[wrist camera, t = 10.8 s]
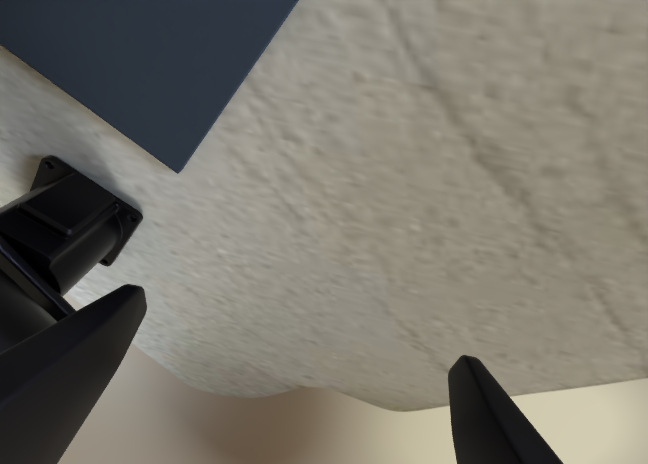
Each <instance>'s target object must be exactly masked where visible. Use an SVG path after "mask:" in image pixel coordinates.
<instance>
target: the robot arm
mask: <svg viewBox="0 0 648 464" xmlns="http://www.w3.org/2000/svg"><path fill="white" fill-rule="evenodd" d="M51 163H52V164H53V165H52V164H51ZM133 216H134V217H135V218H134V217H133ZM142 219H143V216H142V214H141V213H140V212H139V211H138V210H136V209H135V208H133V207H132V206H130V205H129V204H127V203H125V202H124V201H122V200H121V199H119V198H118V197H116V196H115V195H113V194H112V193H110V192H109V191H107V190H106V189H104V188H103V187H101V186H100V185H98V184H96V183H95V182H93V181H92V180H90V179H89V178H87V177H86V176H84V175H83V174H81V173H80V172H78V171H77V170H75V169H74V168H72V167H71V166H69V165H68V164H66V163H64V162H63V161H61V160H60V159H58V158H57V157H55V156H51V155H50V156H47V157H45V158H43V159H42V160H41V162H40V165H39V168H38V171H37V173H36V176H35V179H34V182H33V184H32V187H31V190H30V192H29V193H27V194H25V195H23V196H21V197H20V198H18V199H16V200H14V201H12V202H10V203H9V204H7V205H5V206H3V207H1V208H0V464H57V463H58V461H59V460H60V458H61V457H62V455H63V454H64V452H65V451H66V449H67V447H68V446H69V444H70V443H71V441H72V440H73V438H74V437H75V435H76V433H77V432H78V430H79V429H80V427H81V426H82V424H83V422H84V421H85V419H86V418H87V416H88V415H89V413H90V412H91V410H92V408H93V407H94V405H95V404H96V402H97V400H98V399H99V397H100V396H101V394H102V393H103V391H104V390H105V388H106V387H107V385H108V383H109V382H110V380H111V378H112V377H113V376H114V374H115V372H116V371H117V369H118V367H119V365H120V364H121V361H122V360H123V358H124V356H125V354H126V352H127V350H128V348H129V346H130V344H131V342H132V340H133V338H134V336H135V334H136V332H137V330H138V328H139V326H140V324H141V322H142V320H143V318H144V316H145V314H146V310H147V304H146V298H145V292H144V289H143V288H142V287H141V286H136V285H132V284H126V285H123V286H121V287H120V288H118V289H116V290H114V291H112V292H111V293H109V294H107V295H105V296H103V297H101V298H100V299H98V300H96V301H94V302H92V303H91V304H89V305H87V306H85V307H83V308H82V309H80V310H78V311H76V310H75V309H74V308H73V307H72V306H71V305H70V304H69V303H68V302H67V301H66V300H65V299H64V298H63V296H64V295H65V294H66V293H67V292H68V291H69V290H70V289H71V288H72V287H73V286H74V285H75V284H76V283H77V282H78V281H79V280H80V279H81V278H83V277H84V276H85V275H86V274H87V273H88V272H89V271H90V270H91V269H92V268H93V267H94V266H95V265H96V264H97V263H100V264H102V265H104V266H110V265H111V264H112V263H113V262H114V261H115V260H116V258H117V257H118V255H119V254H120V252H121V251H122V249H123V248H124V246H125V245H126V243H127V242H128V240H129V239H130V237H131V236H132V234H133V233H134V231H135V230H136V229H137V227H138V226H139V224H140V223H141V221H142ZM448 384H449V398H450V412H451V426H452V435H453V442H454V448H455V453H456V460H457V464H563V462H562V461H561V460H560V459H559V458H558V456H557V455H556V454H555V453H554V451H553V450H552V449H551V448H550V446H549V445H548V444H547V443H546V442H545V440H544V439H543V438H542V437H541V436H540V434H539V433H538V432H537V430H536V429H535V428H534V427H533V425H532V424H531V423H530V422H529V421H528V419H527V418H526V417H525V416H524V414H523V413H522V412H521V411H520V409H519V408H518V407H517V406H516V404H515V403H514V402H513V401H512V399H511V398H510V397H509V396H508V395H507V393H506V392H505V391H504V390H503V388H502V387H501V386H500V385H499V383H498V382H497V381H496V380H495V378H494V377H493V376H492V375H491V374H490V372H489V371H488V370H487V369H486V367H485V366H484V365H483V364H482V362H481V361H480V360H479V359H478V358H476V357H472V356H467V355H462V356H461V357H460V358H459V359H458V360H457V361H456V363H455V364H454V365H453V366H452V368H451V369H450V371H449V374H448Z"/></svg>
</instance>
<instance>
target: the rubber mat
mask: <svg viewBox="0 0 648 464" xmlns="http://www.w3.org/2000/svg"><path fill="white" fill-rule="evenodd" d="M298 1H299V0H0V44H1V45H2V46H3V47H5V48H6V49H8V50H9V51H10V52H12V53H13V54H14V55H16V56H17V57H19V58H20V59H21V60H23V61H24V62H25V63H27V64H28V65H29V66H31V67H32V68H34V69H35V70H36V71H38V72H39V73H40V74H42V75H43V76H45V77H46V78H47V79H49V80H50V81H51V82H53V83H54V84H55V85H57V86H58V87H60V88H61V89H62V90H64V91H65V92H66V93H68V94H69V95H71V96H72V97H73V98H75V99H76V100H77V101H79V102H80V103H81V104H83V105H84V106H86V107H87V108H88V109H90V110H91V111H92V112H94V113H95V114H97V115H98V116H99V117H101V118H102V119H103V120H105V121H106V122H108V123H109V124H110V125H112V126H113V127H114V128H116V129H117V130H118V131H120V132H121V133H123V134H124V135H125V136H127V137H128V138H129V139H131V140H132V141H134V142H135V143H136V144H138V145H139V146H140V147H142V148H143V149H144V150H146V151H147V152H149V153H150V154H151V155H153V156H154V157H155V158H157V159H158V160H160V161H161V162H162V163H164V164H165V165H166V166H168V167H169V168H170V169H172V170H173V171H175V172H176V173H179V172H180V171H181V170H182V169H183V168H184V166H185V165H186V163H187V162H188V160H189V159H190V157H191V156H192V154H193V153H194V152H195V150H196V149H197V147H198V146H199V144H200V143H201V141H202V140H203V139H204V137H205V136H206V134H207V133H208V131H209V130H210V128H211V127H212V125H213V124H214V123H215V121H216V120H217V118H218V117H219V115H220V114H221V112H222V111H223V109H224V108H225V107H226V105H227V104H228V102H229V101H230V99H231V98H232V96H233V95H234V93H235V92H236V91H237V89H238V88H239V86H240V85H241V83H242V82H243V80H244V79H245V78H246V76H247V75H248V73H249V72H250V70H251V69H252V67H253V66H254V64H255V63H256V62H257V60H258V59H259V57H260V56H261V54H262V53H263V51H264V50H265V48H266V47H267V46H268V44H269V43H270V41H271V40H272V38H273V37H274V35H275V34H276V32H277V31H278V30H279V28H280V27H281V25H282V24H283V22H284V21H285V19H286V18H287V17H288V15H289V14H290V12H291V11H292V9H293V8H294V6H295V5H296V3H297V2H298Z"/></svg>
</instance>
